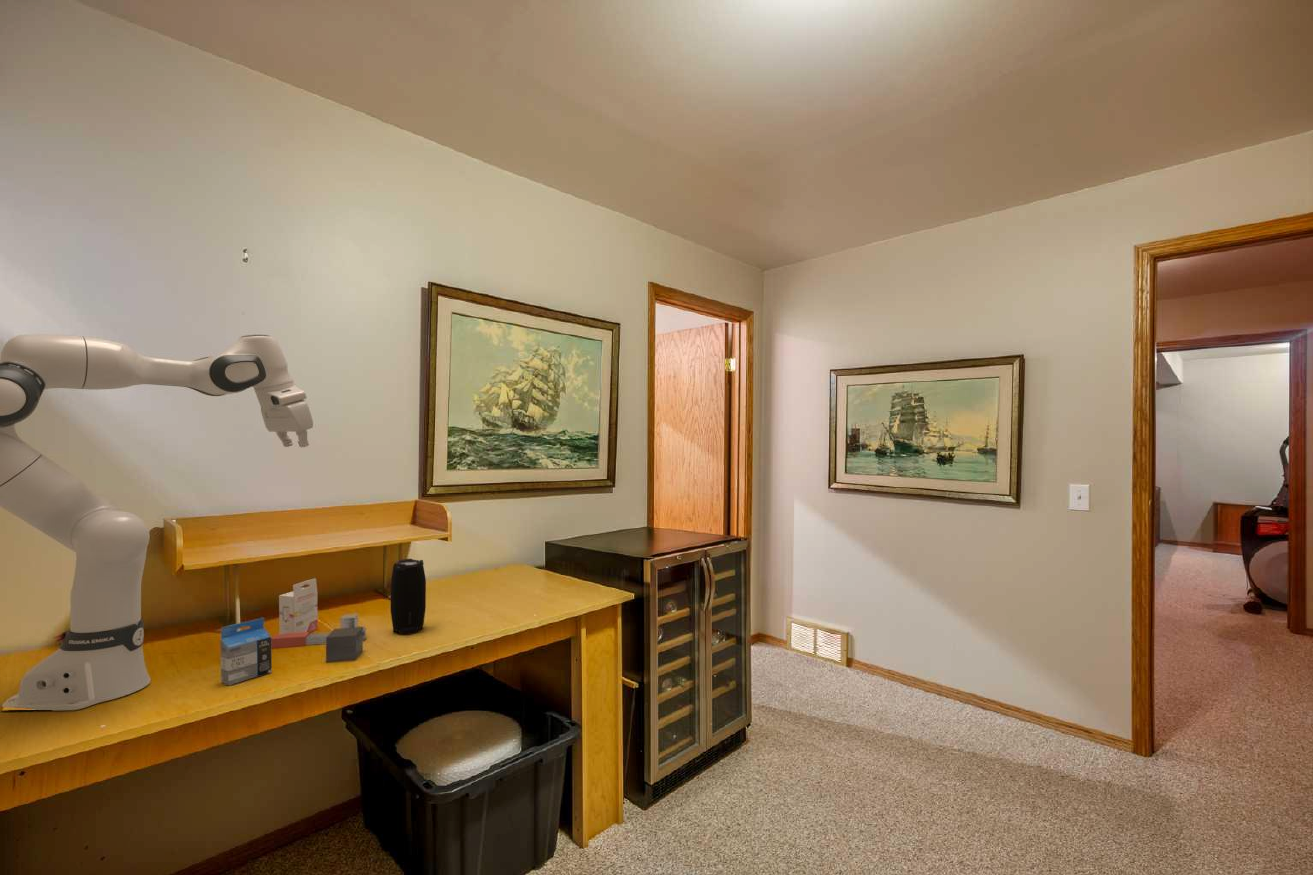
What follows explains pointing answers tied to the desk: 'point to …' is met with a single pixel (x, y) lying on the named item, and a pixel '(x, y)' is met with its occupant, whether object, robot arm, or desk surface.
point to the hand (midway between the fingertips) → (296, 446)
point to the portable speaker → (408, 596)
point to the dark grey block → (344, 644)
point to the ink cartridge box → (299, 609)
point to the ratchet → (313, 639)
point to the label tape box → (245, 652)
